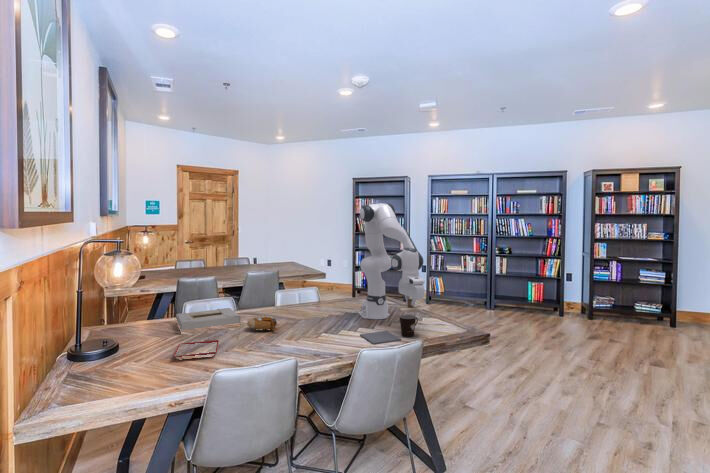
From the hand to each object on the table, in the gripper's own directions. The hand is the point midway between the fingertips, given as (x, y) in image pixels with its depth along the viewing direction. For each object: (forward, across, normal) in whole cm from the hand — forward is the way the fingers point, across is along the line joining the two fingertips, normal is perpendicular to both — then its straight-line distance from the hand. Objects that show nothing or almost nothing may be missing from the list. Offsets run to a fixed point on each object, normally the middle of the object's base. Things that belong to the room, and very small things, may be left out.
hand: (410, 304), depth 207 cm
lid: (+2, 0, 0) cm, 2 cm away
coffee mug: (+17, 0, 0) cm, 17 cm away
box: (+16, -63, -98) cm, 118 cm away
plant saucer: (+16, -15, -105) cm, 107 cm away
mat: (+16, -2, -17) cm, 24 cm away
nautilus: (+16, -40, -70) cm, 82 cm away
